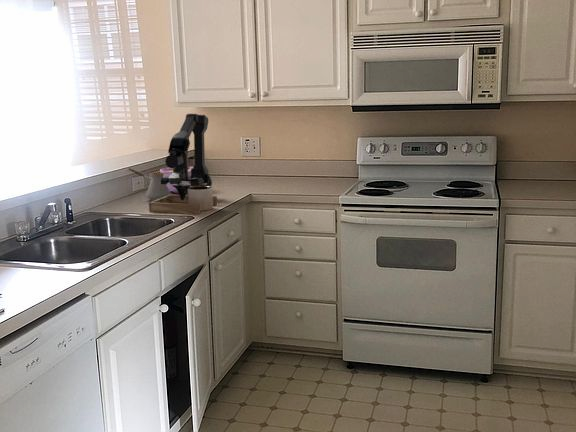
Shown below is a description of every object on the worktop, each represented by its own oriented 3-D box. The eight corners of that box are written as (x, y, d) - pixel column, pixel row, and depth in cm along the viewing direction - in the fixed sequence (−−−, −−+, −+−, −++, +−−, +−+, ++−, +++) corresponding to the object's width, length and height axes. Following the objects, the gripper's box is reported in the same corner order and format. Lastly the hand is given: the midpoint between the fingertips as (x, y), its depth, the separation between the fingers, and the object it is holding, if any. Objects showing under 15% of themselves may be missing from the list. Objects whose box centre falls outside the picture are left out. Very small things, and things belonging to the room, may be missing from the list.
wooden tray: (170, 203, 294) (169, 194, 293) (217, 205, 288) (216, 196, 287) (149, 211, 275) (148, 202, 275) (199, 214, 269) (198, 204, 268)
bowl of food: (203, 193, 318) (202, 170, 316) (163, 196, 313) (162, 172, 310) (197, 187, 337) (196, 165, 335) (159, 189, 331) (157, 167, 329)
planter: (201, 205, 287) (200, 184, 285) (218, 208, 280) (217, 187, 278) (183, 209, 278) (182, 188, 276) (200, 212, 272) (199, 190, 270)
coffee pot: (175, 198, 306) (173, 167, 303) (164, 202, 295) (162, 170, 292) (135, 196, 312) (133, 166, 309) (123, 201, 301) (121, 169, 298)
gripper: (153, 166, 273) (154, 202, 276) (192, 168, 267) (194, 204, 270) (165, 163, 283) (167, 198, 286) (203, 165, 278) (204, 200, 281)
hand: (182, 200), depth 281 cm, fingers closed
